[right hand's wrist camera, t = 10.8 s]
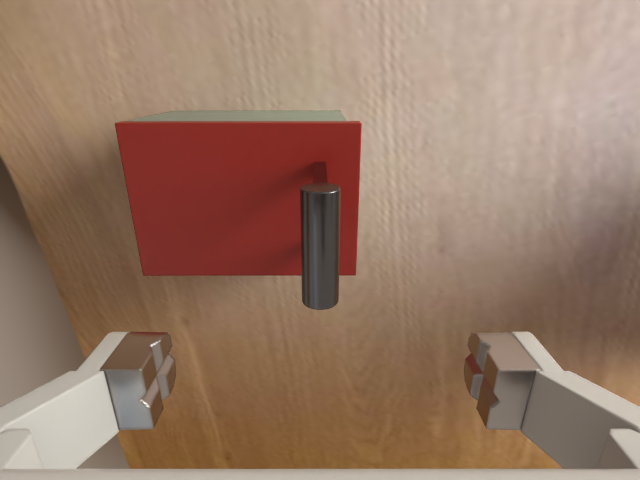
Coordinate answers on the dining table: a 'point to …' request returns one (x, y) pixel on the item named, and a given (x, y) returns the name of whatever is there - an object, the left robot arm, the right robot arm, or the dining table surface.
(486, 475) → the right robot arm
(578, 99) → the dining table surface
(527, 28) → the dining table surface
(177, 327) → the dining table surface
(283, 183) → the lid
